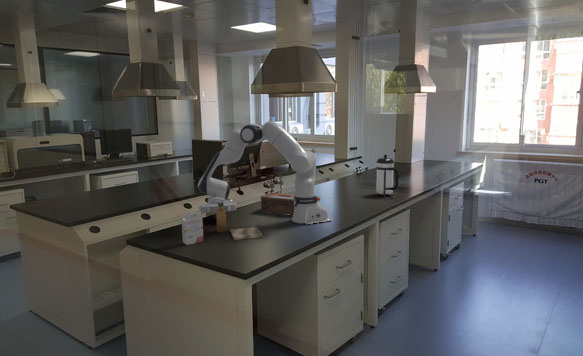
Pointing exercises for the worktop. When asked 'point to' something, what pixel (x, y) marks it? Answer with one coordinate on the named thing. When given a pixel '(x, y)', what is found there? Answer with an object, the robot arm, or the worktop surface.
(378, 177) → the coffee press
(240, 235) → the birch board
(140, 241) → the worktop surface
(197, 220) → the ink cartridge box
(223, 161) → the robot arm
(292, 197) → the tissue box cover
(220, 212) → the reagent bottle
